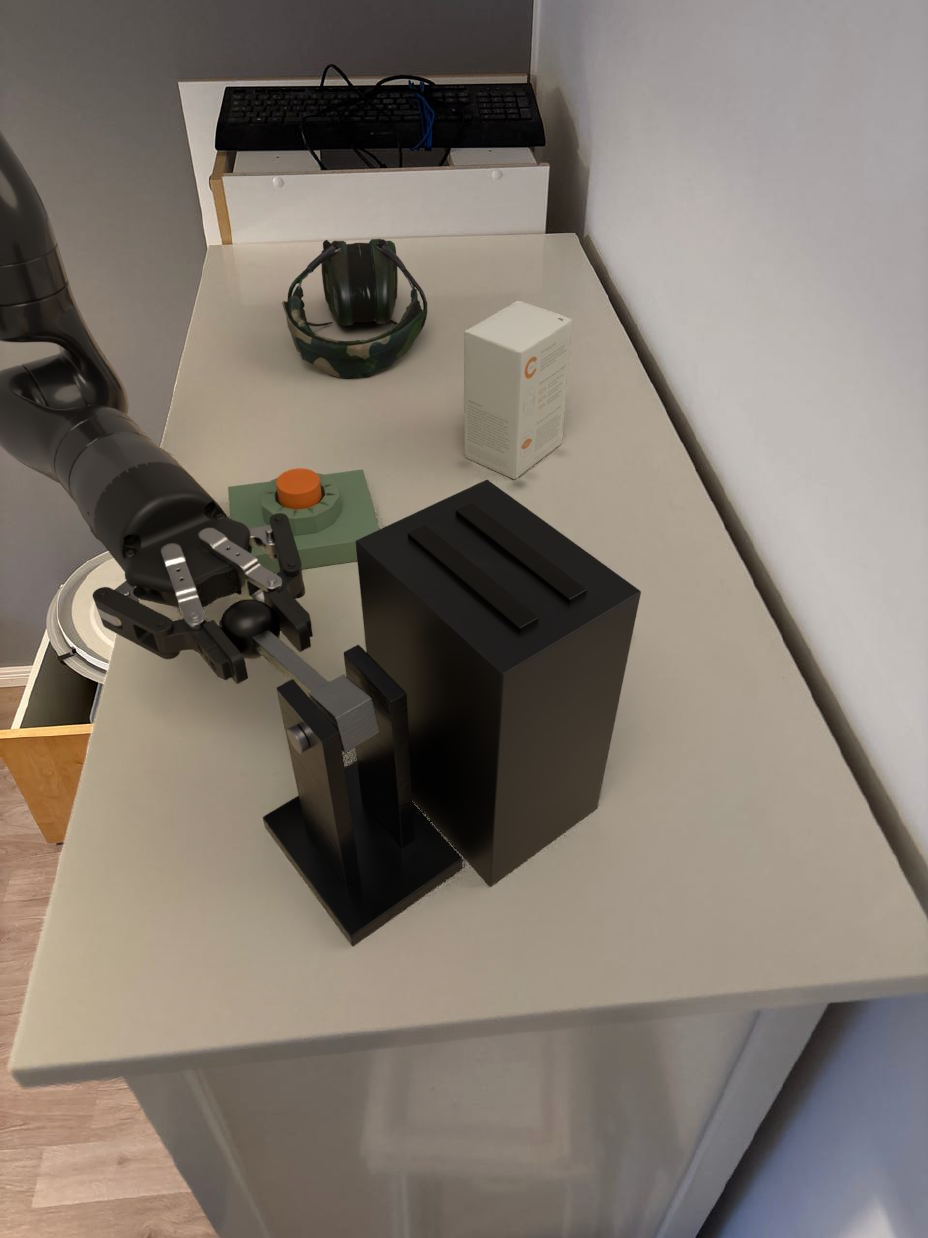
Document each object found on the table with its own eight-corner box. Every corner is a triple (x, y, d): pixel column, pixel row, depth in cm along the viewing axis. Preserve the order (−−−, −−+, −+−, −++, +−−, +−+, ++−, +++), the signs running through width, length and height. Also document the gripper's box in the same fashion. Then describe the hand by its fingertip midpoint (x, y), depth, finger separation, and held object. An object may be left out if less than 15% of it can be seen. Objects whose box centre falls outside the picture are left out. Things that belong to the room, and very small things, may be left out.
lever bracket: (264, 827, 56) (222, 668, 46) (370, 763, 60) (353, 602, 49) (352, 947, 50) (326, 797, 40) (463, 869, 54) (465, 712, 44)
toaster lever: (218, 653, 55) (201, 605, 53) (269, 628, 57) (255, 581, 55) (335, 769, 45) (320, 716, 43) (393, 734, 47) (381, 681, 45)
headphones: (268, 258, 104) (272, 365, 92) (343, 175, 98) (357, 278, 86) (353, 323, 113) (367, 428, 101) (427, 251, 107) (451, 353, 95)
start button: (280, 513, 73) (277, 496, 72) (276, 487, 76) (274, 470, 74) (324, 507, 74) (322, 490, 72) (319, 482, 76) (317, 465, 75)
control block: (238, 578, 73) (229, 540, 70) (232, 506, 80) (224, 469, 77) (383, 557, 75) (380, 520, 72) (364, 488, 82) (361, 452, 79)
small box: (511, 422, 90) (517, 297, 81) (563, 444, 87) (576, 318, 78) (461, 457, 85) (462, 329, 76) (514, 481, 83) (521, 352, 74)
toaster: (376, 759, 60) (354, 535, 46) (479, 696, 64) (487, 473, 50) (490, 887, 53) (503, 669, 40) (597, 808, 57) (643, 585, 44)
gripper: (25, 502, 55) (145, 667, 46) (230, 428, 62) (371, 559, 52) (60, 590, 61) (174, 754, 51) (246, 513, 67) (376, 646, 58)
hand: (273, 654), depth 52 cm, fingers closed on toaster lever, 3 cm apart
